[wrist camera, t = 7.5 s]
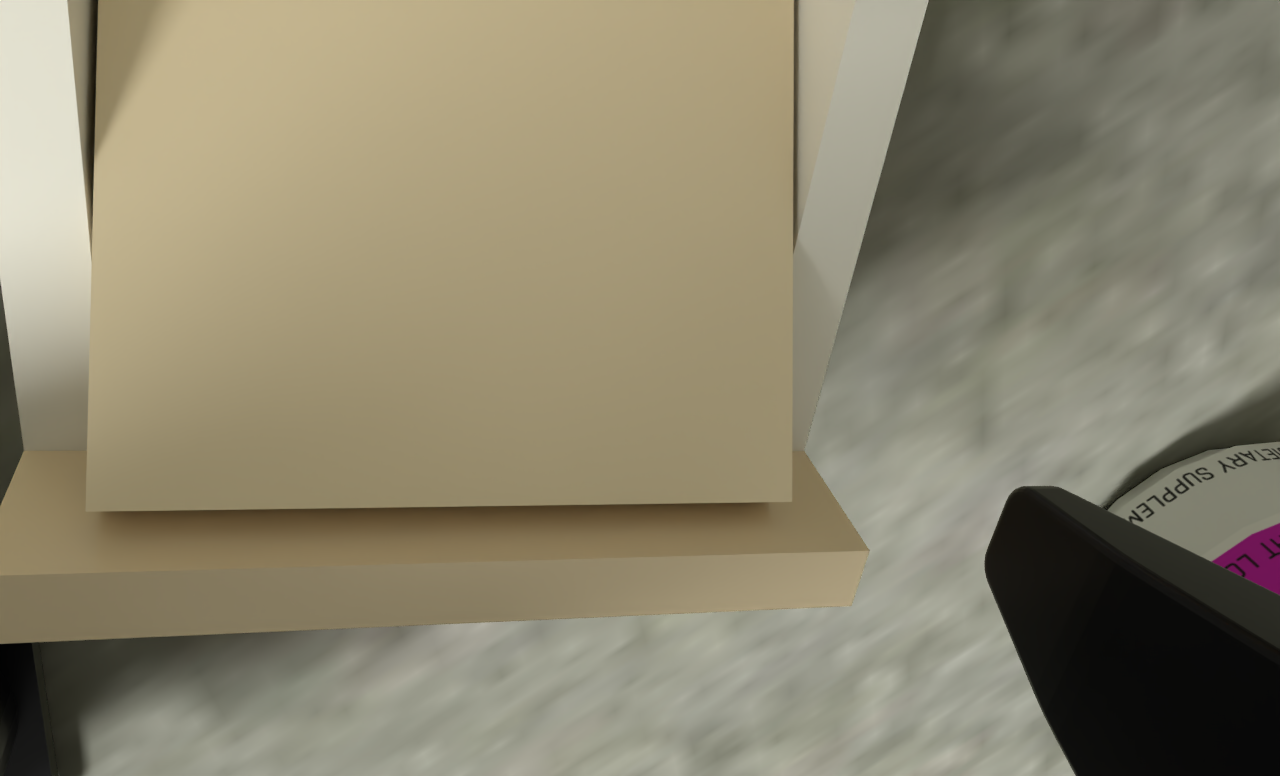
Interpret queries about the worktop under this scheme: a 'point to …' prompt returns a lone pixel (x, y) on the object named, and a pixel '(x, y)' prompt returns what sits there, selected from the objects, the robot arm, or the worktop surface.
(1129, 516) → the supplement can
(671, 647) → the worktop surface
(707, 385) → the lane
